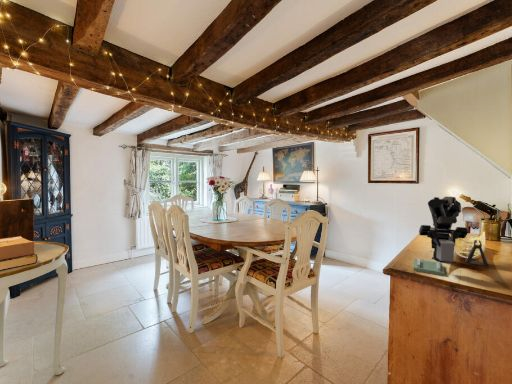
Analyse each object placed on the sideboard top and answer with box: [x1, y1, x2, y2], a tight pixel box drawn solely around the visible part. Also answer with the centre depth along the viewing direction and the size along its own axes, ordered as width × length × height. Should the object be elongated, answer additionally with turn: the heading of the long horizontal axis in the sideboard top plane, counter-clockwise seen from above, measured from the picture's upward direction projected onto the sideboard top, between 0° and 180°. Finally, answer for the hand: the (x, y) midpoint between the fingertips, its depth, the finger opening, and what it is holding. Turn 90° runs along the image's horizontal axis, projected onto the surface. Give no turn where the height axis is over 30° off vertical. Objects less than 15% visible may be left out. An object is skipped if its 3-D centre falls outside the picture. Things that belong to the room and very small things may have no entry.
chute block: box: [436, 239, 455, 263], centre depth 117 cm, size 5×5×9 cm
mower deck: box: [413, 258, 445, 277], centre depth 123 cm, size 12×16×3 cm
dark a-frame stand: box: [465, 239, 490, 268], centre depth 130 cm, size 9×6×12 cm, turn 50°
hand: (446, 246), depth 115 cm, fingers closed on chute block, 5 cm apart
